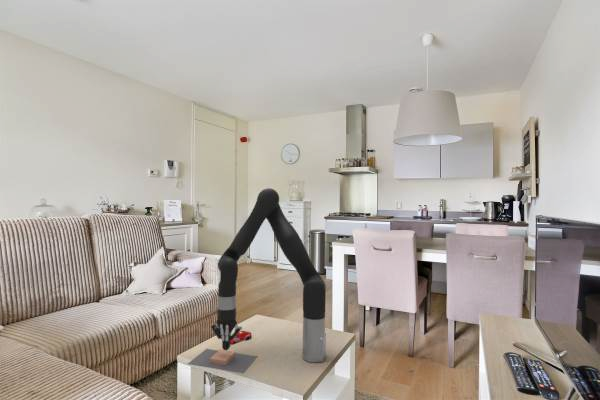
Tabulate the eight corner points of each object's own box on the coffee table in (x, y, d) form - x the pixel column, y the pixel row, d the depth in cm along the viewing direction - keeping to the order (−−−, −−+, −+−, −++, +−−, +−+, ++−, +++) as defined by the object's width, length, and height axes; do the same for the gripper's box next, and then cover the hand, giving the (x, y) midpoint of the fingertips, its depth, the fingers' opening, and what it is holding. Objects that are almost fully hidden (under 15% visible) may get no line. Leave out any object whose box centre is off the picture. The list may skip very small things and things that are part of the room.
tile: (235, 352, 135) (219, 349, 137) (225, 360, 127) (209, 358, 129) (235, 356, 135) (219, 354, 137) (225, 365, 127) (209, 363, 129)
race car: (229, 347, 145) (230, 338, 145) (223, 344, 149) (223, 335, 149) (253, 339, 155) (253, 330, 155) (246, 335, 158) (246, 327, 158)
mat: (258, 357, 135) (258, 356, 135) (243, 374, 122) (243, 373, 122) (206, 350, 142) (206, 348, 142) (187, 365, 128) (187, 363, 128)
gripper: (245, 305, 134) (245, 347, 133) (216, 302, 137) (216, 343, 137) (237, 310, 126) (236, 355, 126) (207, 307, 130) (206, 351, 130)
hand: (226, 349), depth 132 cm, fingers closed
